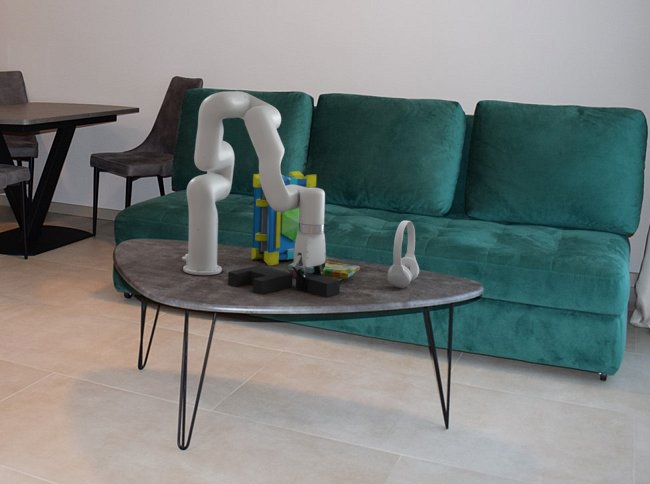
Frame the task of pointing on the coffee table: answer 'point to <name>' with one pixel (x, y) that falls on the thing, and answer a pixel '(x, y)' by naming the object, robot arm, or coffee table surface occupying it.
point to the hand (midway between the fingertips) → (309, 286)
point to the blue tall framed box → (276, 222)
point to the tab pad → (321, 285)
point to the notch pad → (261, 278)
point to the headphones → (407, 265)
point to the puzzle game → (331, 270)
